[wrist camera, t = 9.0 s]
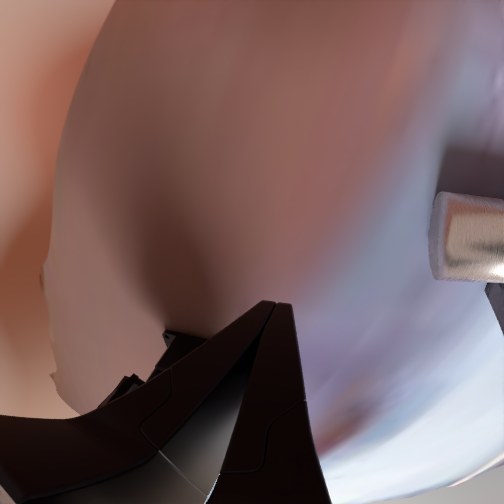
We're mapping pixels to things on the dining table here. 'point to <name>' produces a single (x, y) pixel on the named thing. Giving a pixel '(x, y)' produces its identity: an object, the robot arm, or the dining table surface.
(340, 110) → the dining table surface
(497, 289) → the collar rig
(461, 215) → the tube
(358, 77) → the dining table surface
